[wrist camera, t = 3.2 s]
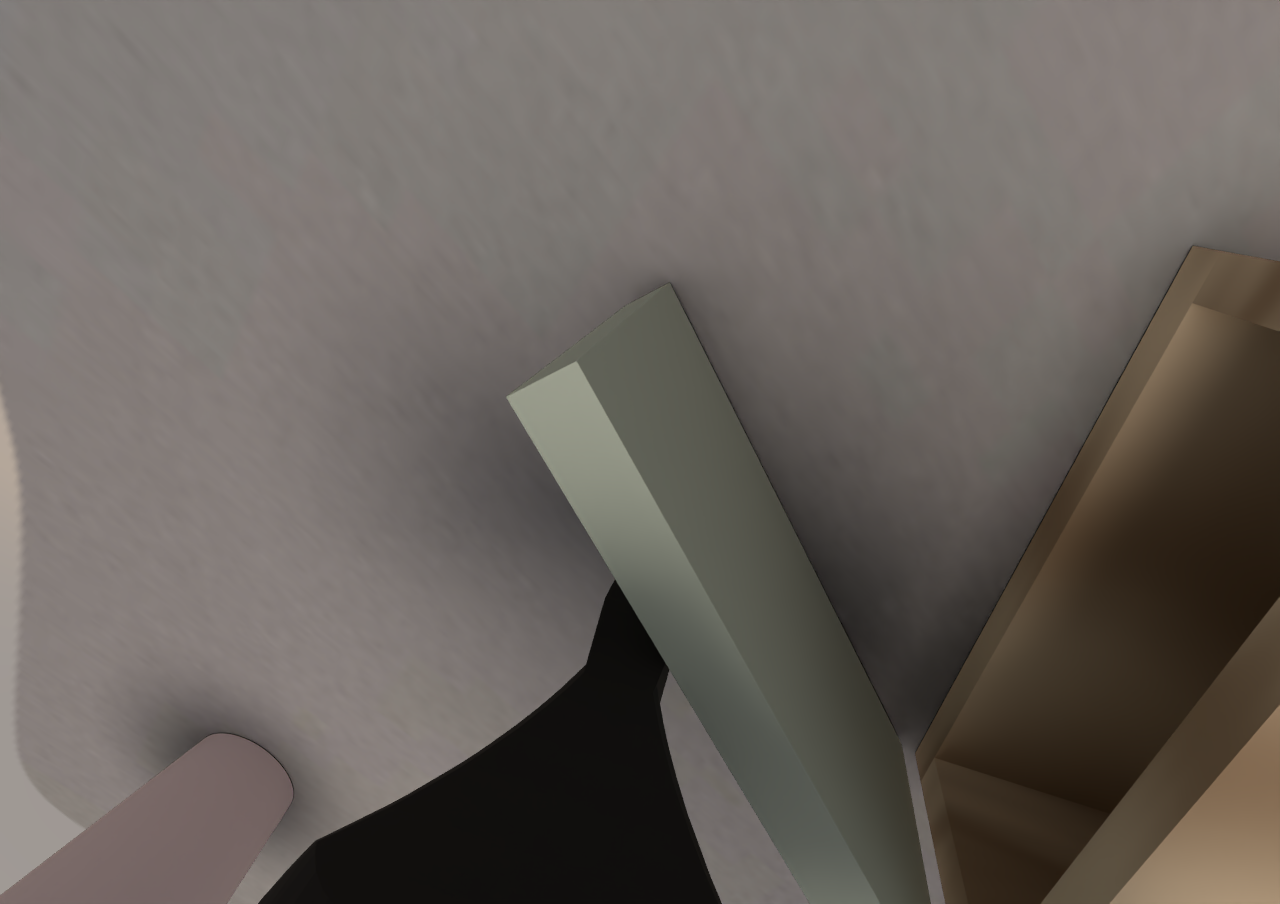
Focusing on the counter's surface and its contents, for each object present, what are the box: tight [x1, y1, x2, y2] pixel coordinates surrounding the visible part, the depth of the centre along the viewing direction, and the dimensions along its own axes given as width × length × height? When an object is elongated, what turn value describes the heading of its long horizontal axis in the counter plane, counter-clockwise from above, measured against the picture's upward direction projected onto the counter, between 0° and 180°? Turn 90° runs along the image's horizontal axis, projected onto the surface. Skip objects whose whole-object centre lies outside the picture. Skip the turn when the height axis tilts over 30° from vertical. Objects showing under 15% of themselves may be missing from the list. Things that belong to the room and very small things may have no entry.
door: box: [506, 282, 931, 904], centre depth 12 cm, size 12×2×6 cm, turn 29°
